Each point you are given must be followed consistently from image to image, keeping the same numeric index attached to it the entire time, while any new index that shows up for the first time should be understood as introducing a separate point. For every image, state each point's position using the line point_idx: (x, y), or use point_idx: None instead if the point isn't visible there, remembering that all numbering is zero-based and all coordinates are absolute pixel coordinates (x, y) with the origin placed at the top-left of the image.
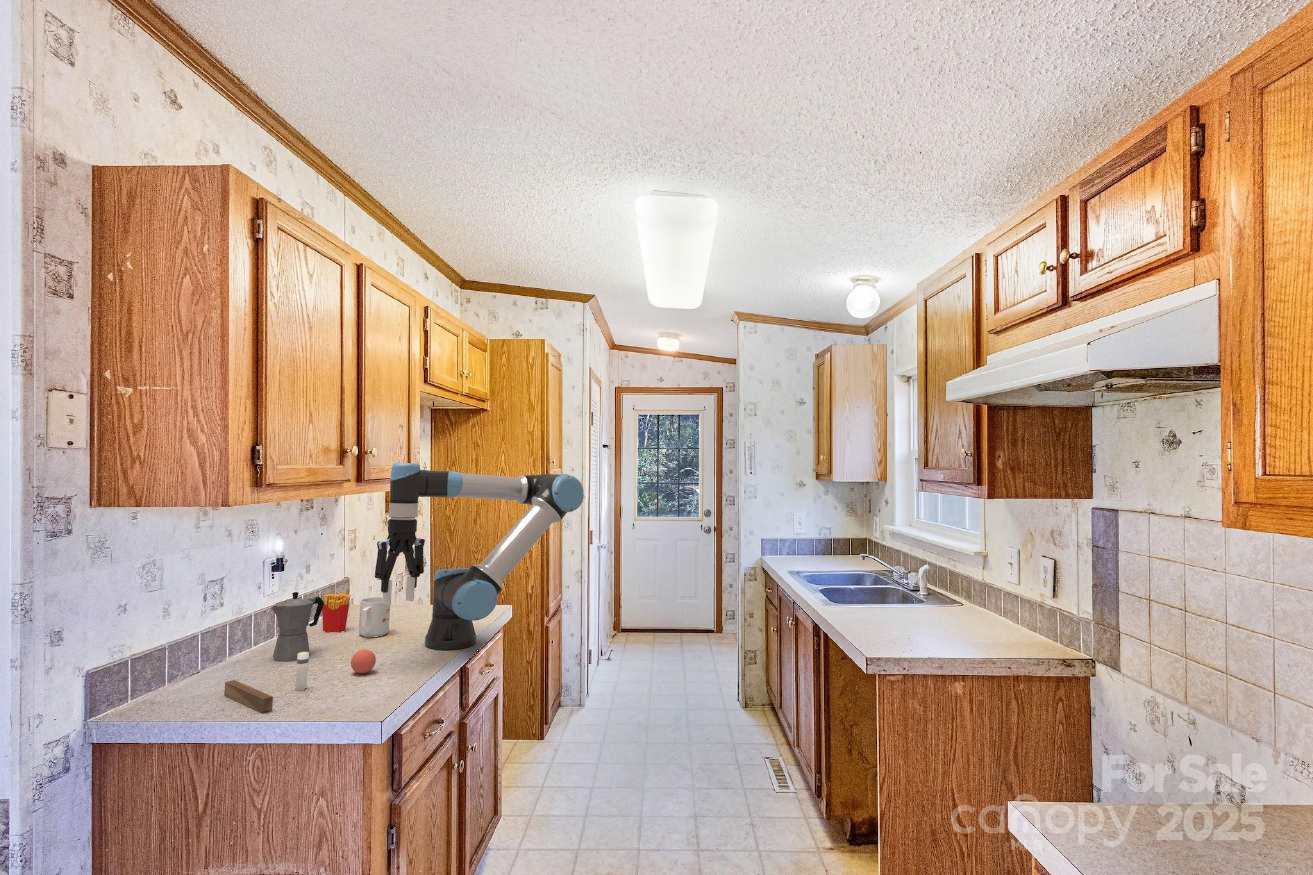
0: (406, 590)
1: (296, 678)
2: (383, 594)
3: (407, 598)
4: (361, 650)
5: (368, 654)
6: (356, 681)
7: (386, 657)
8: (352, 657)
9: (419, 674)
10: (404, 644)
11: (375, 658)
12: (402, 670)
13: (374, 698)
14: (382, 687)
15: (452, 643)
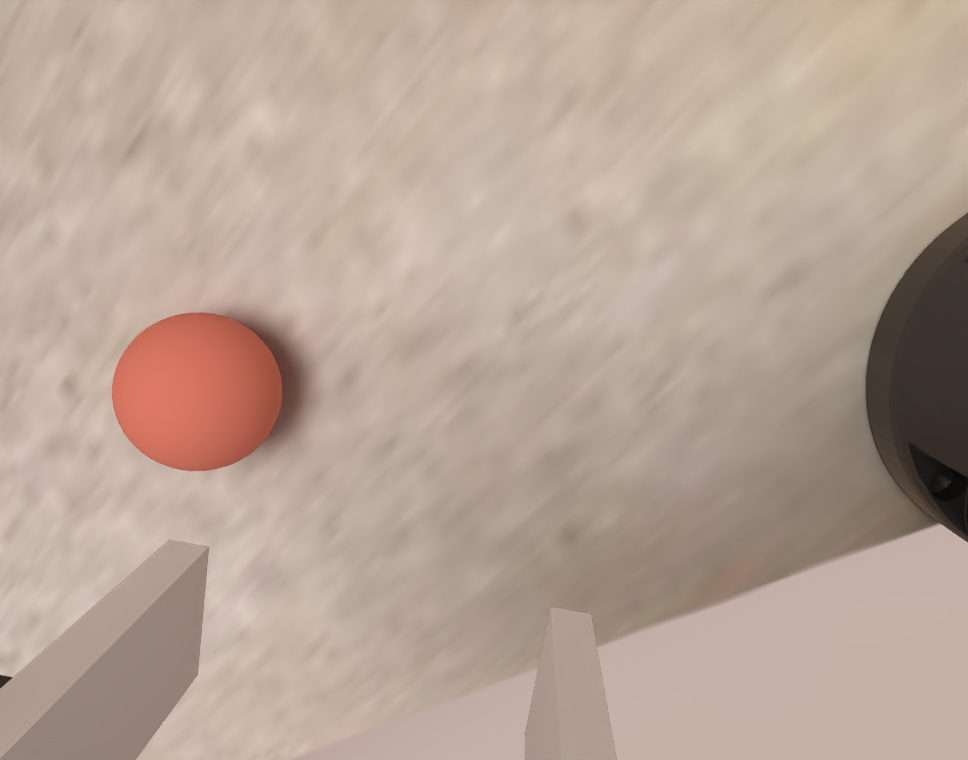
0: (555, 712)
1: None
2: (86, 625)
3: (542, 665)
4: (145, 403)
5: (170, 459)
6: (117, 464)
7: (549, 237)
8: (121, 357)
9: (392, 661)
10: (892, 73)
11: (246, 453)
12: (395, 533)
13: None
14: None
15: (934, 513)
